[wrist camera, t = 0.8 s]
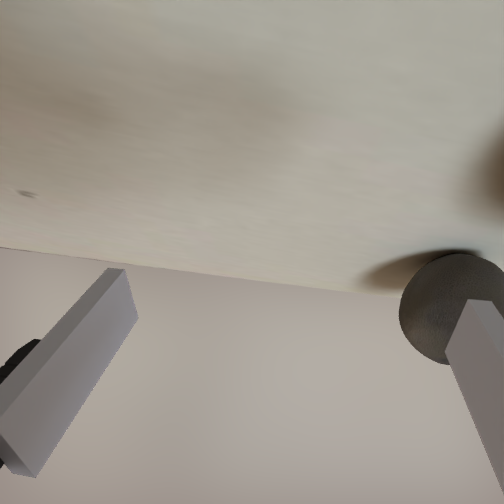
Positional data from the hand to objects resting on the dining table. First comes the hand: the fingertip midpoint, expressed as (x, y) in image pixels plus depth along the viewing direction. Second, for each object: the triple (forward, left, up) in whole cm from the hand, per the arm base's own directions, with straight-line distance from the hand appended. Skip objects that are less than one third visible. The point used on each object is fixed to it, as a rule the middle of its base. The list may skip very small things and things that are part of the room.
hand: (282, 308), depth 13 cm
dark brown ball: (+39, +12, -18) cm, 45 cm away
